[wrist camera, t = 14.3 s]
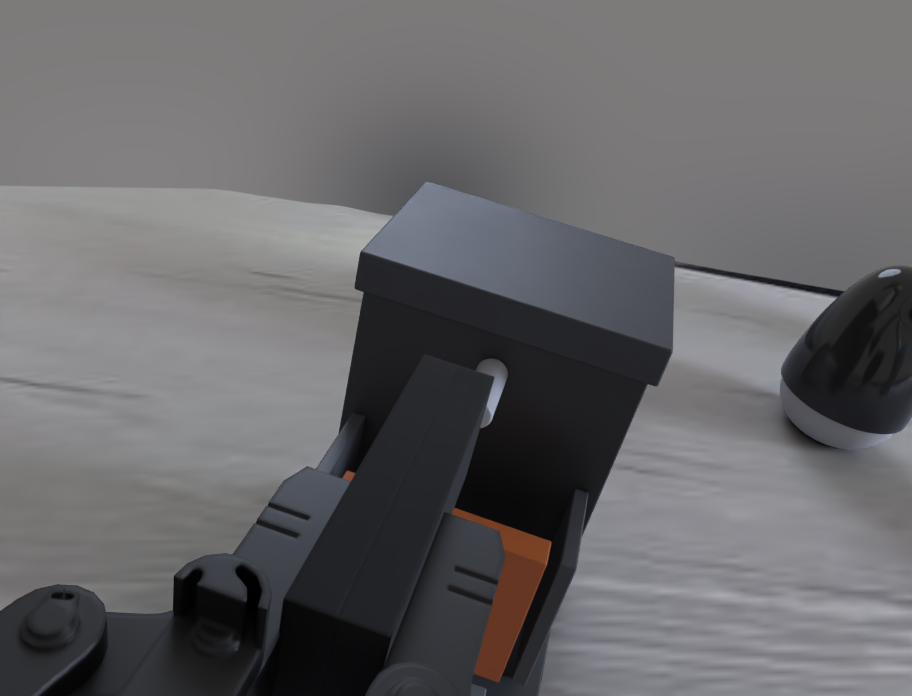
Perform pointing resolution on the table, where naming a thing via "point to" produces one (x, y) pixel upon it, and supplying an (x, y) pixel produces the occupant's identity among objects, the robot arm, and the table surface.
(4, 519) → the table surface
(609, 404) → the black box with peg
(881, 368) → the pump dispenser
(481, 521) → the push plate
